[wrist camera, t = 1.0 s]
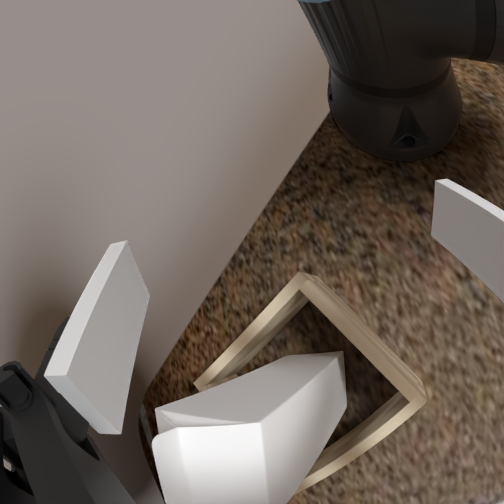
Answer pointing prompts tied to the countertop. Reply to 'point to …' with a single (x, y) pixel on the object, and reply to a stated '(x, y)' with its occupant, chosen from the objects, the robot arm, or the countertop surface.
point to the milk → (250, 432)
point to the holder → (359, 334)
